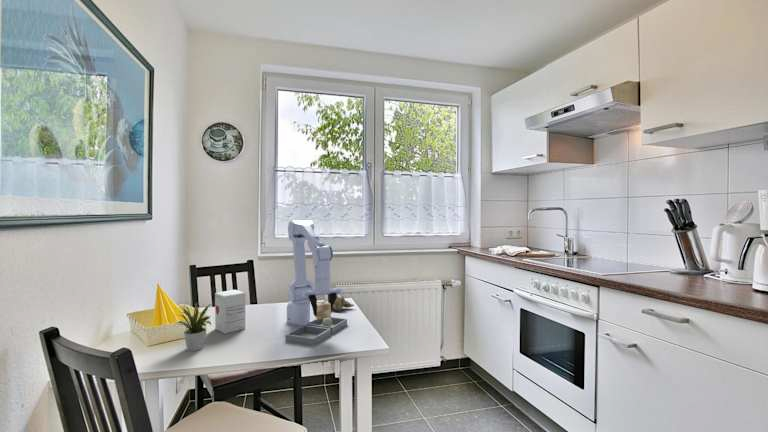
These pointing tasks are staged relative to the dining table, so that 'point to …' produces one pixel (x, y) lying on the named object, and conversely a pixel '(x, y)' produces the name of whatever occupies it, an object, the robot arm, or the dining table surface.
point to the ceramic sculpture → (339, 302)
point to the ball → (327, 322)
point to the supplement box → (229, 311)
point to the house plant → (195, 328)
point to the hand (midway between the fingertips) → (322, 314)
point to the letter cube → (323, 310)
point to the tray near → (308, 335)
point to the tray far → (336, 325)
